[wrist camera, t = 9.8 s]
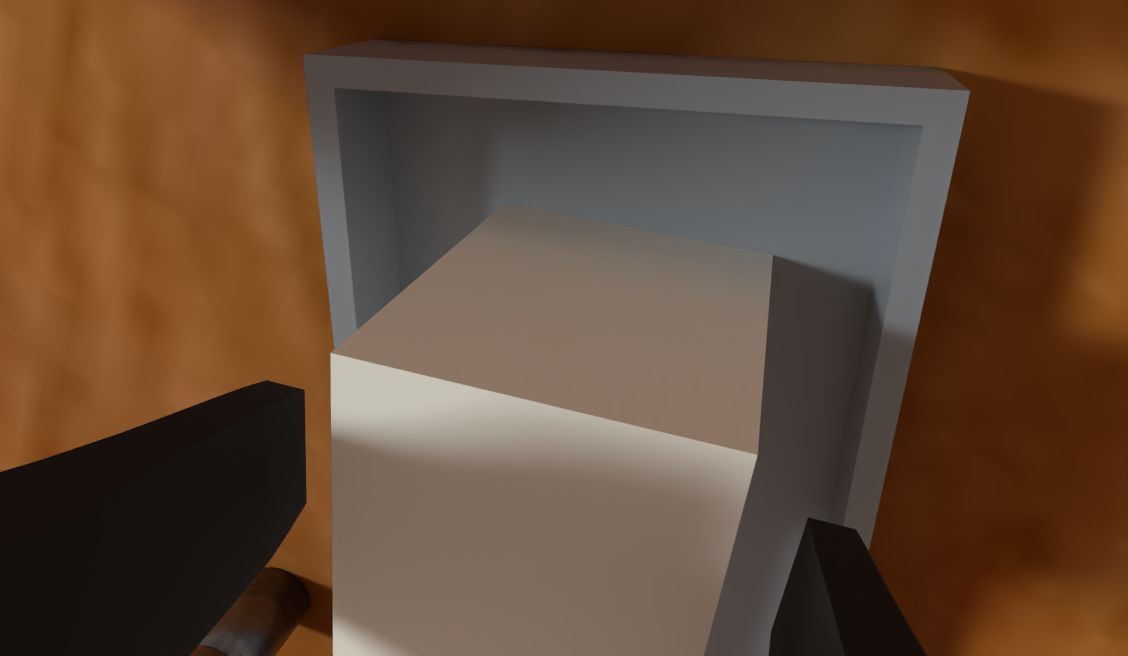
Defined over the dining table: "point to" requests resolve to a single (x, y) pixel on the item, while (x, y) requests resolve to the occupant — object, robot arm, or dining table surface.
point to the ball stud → (258, 618)
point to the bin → (672, 226)
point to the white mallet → (547, 444)
